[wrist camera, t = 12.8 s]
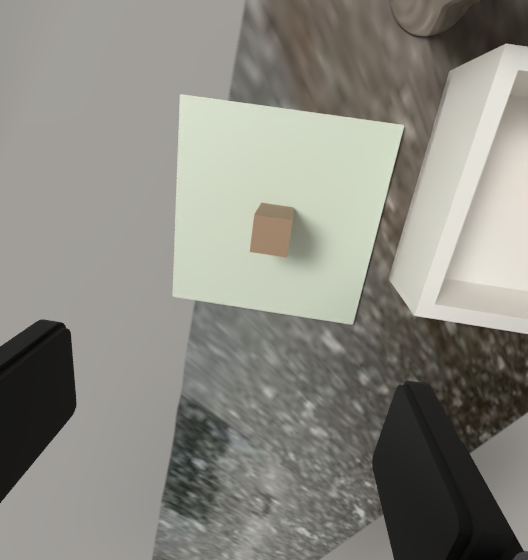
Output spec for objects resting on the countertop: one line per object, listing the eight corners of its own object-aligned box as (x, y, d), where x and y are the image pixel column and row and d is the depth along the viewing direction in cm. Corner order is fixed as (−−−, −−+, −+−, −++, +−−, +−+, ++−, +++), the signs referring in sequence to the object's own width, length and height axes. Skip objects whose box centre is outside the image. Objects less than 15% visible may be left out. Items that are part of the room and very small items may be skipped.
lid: (184, 96, 31) (153, 82, 24) (400, 126, 30) (430, 120, 23) (176, 292, 38) (150, 323, 31) (351, 319, 37) (363, 357, 30)
